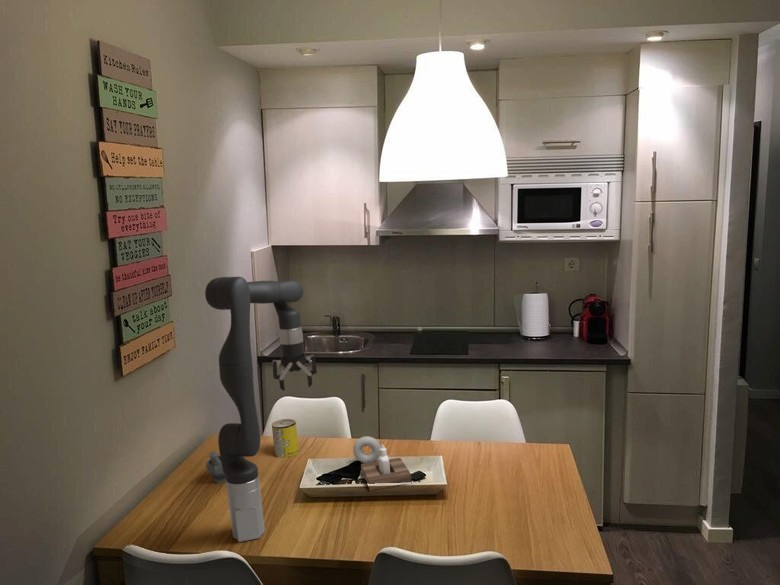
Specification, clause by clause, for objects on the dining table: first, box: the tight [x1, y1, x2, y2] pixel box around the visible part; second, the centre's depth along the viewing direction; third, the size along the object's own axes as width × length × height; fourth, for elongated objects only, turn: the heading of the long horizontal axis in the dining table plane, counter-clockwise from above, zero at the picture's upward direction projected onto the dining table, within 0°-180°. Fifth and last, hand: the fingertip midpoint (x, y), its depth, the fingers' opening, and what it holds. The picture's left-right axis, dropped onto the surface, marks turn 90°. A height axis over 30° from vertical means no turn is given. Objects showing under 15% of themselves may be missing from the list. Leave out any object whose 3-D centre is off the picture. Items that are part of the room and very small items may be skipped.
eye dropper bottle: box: [377, 444, 390, 475], centre depth 225 cm, size 4×6×12 cm
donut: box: [352, 436, 381, 464], centre depth 239 cm, size 10×4×10 cm, turn 89°
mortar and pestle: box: [205, 450, 226, 484], centre depth 235 cm, size 11×9×12 cm
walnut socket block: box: [360, 457, 412, 484], centre depth 226 cm, size 14×14×4 cm
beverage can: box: [271, 418, 300, 459], centre depth 254 cm, size 9×9×12 cm
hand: (296, 388), depth 223 cm, fingers open, 8 cm apart
